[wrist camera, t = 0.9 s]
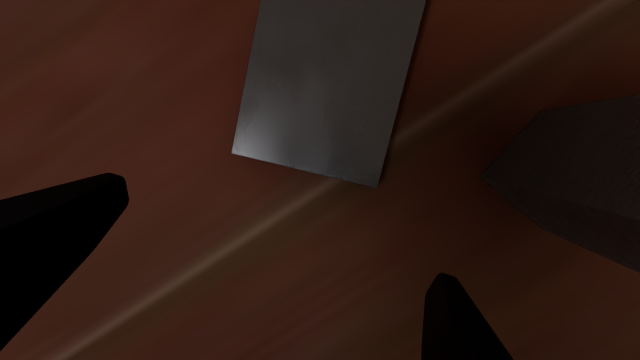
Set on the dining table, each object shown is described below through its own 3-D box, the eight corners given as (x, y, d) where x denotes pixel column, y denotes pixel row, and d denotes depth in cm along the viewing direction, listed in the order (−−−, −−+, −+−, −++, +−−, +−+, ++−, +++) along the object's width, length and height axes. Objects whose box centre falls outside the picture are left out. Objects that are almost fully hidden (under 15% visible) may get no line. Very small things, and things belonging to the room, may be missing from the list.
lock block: (541, 230, 21) (828, 365, 8) (477, 178, 21) (667, 232, 8) (608, 163, 20) (1044, 200, 7) (541, 109, 20) (863, 52, 7)
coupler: (375, 185, 22) (382, 198, 17) (238, 152, 22) (205, 155, 17) (453, -116, 19) (489, -206, 14) (295, -143, 20) (276, -238, 15)
